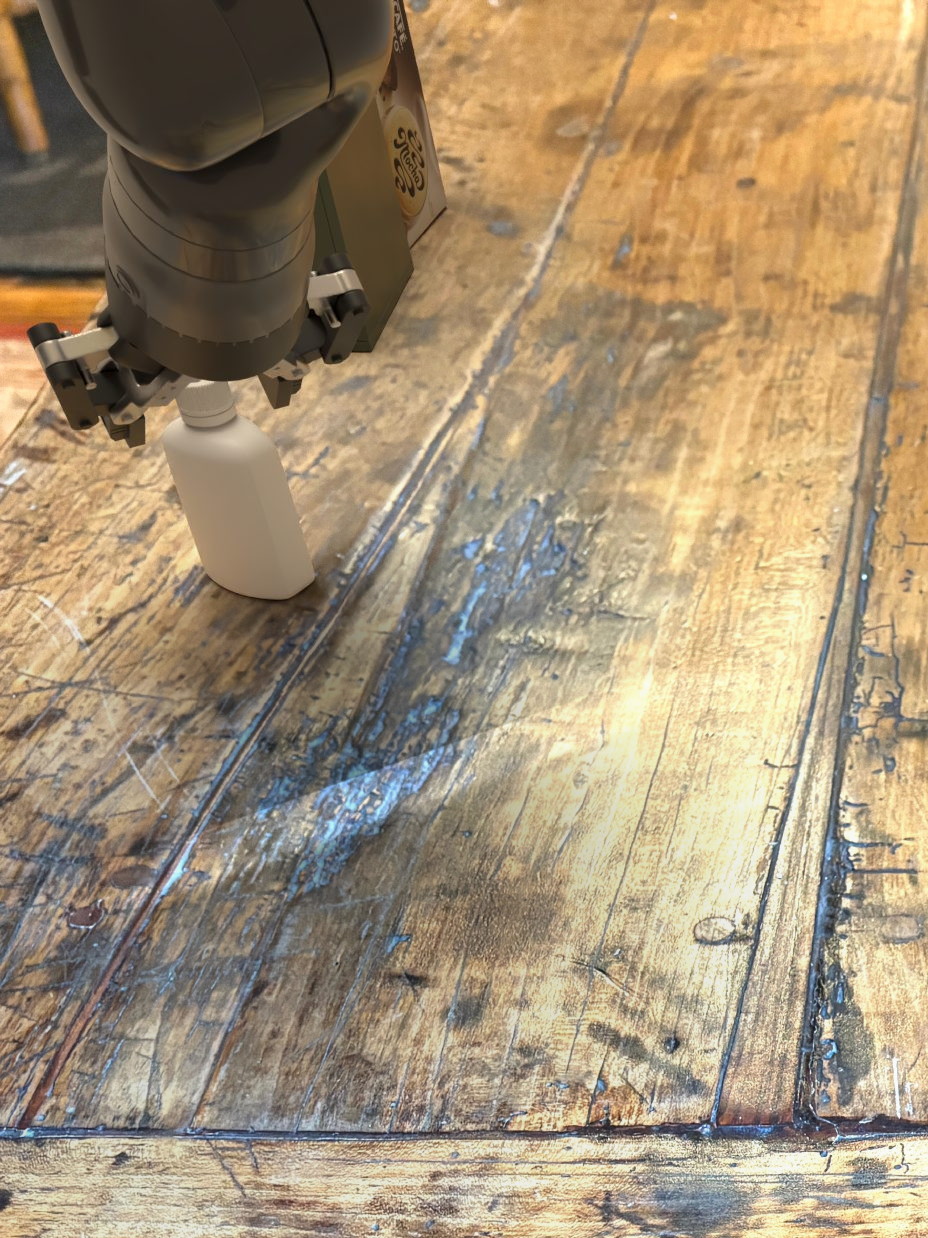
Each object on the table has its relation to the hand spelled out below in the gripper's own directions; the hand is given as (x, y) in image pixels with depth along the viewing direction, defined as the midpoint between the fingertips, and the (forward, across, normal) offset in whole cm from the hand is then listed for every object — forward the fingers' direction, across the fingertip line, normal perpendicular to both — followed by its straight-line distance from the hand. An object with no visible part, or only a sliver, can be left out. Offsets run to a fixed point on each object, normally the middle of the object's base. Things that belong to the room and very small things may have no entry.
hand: (199, 407), depth 93 cm
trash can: (+25, -12, -13) cm, 30 cm away
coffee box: (+30, -20, -18) cm, 41 cm away
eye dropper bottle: (+5, 0, +7) cm, 9 cm away
